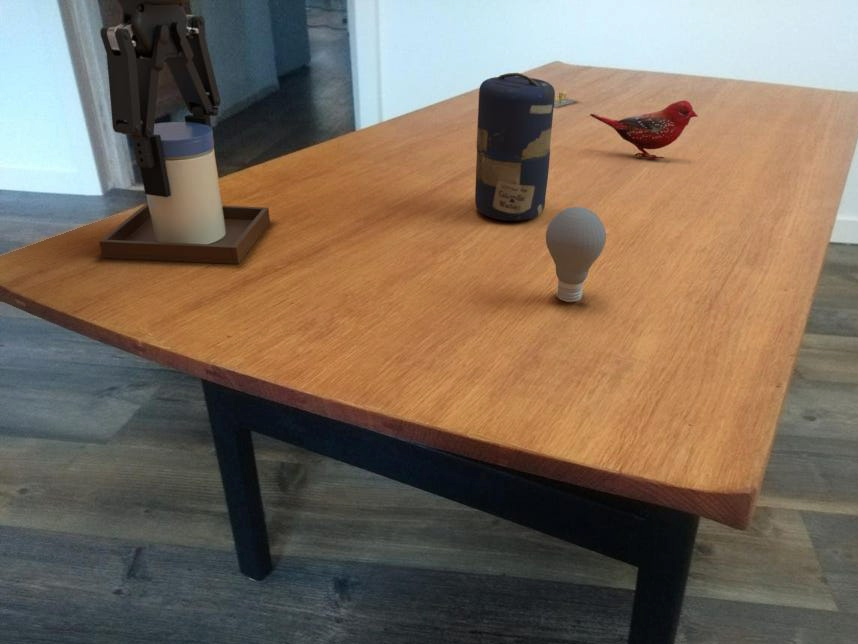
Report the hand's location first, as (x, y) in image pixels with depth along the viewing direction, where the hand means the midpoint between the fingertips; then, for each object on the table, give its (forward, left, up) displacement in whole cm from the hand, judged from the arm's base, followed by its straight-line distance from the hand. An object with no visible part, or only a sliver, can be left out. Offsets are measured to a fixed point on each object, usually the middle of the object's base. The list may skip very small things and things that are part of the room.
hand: (182, 182), depth 86 cm
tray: (0, 0, -7) cm, 7 cm away
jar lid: (0, 0, +6) cm, 6 cm away
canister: (+38, +14, -7) cm, 41 cm away
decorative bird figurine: (+60, +45, -7) cm, 75 cm away
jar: (0, 0, -6) cm, 6 cm away
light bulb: (+44, -12, -7) cm, 46 cm away
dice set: (+48, +88, -7) cm, 100 cm away
